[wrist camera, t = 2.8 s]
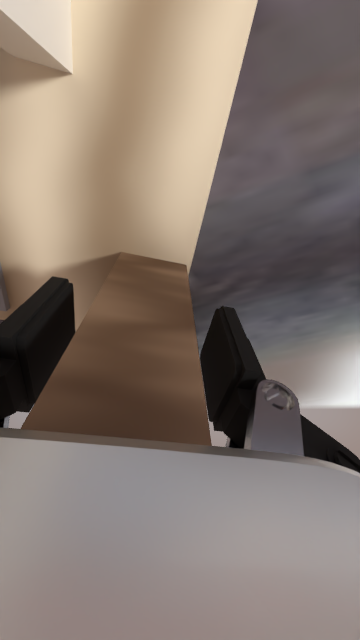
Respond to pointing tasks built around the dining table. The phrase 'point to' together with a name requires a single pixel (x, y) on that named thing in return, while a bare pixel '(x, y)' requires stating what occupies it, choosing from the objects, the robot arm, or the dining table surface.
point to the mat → (3, 293)
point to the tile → (38, 31)
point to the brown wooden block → (131, 362)
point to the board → (115, 141)
